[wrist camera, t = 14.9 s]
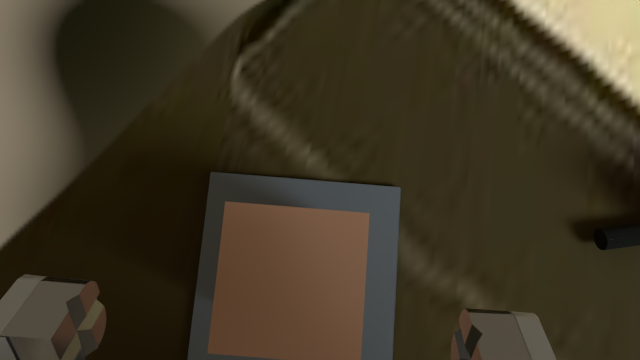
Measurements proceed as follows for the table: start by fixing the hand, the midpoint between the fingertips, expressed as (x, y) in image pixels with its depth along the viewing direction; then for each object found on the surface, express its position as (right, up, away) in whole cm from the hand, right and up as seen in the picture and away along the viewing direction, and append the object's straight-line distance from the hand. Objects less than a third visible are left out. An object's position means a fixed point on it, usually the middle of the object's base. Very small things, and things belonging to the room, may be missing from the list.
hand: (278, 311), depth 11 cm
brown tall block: (0, -3, +18) cm, 18 cm away
